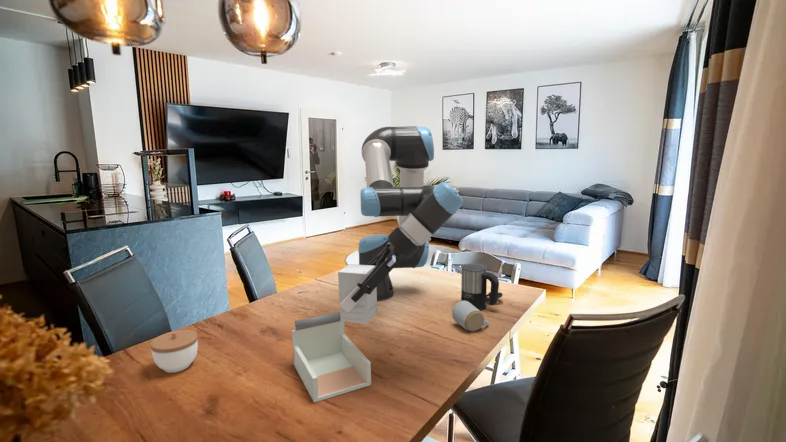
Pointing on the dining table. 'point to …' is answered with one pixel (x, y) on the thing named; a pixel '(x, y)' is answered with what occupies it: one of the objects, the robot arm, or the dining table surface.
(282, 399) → the dining table surface
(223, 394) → the dining table surface
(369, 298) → the supplement box
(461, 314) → the ceramic mug
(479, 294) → the milk frother
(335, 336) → the tray
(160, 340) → the lidded jar
